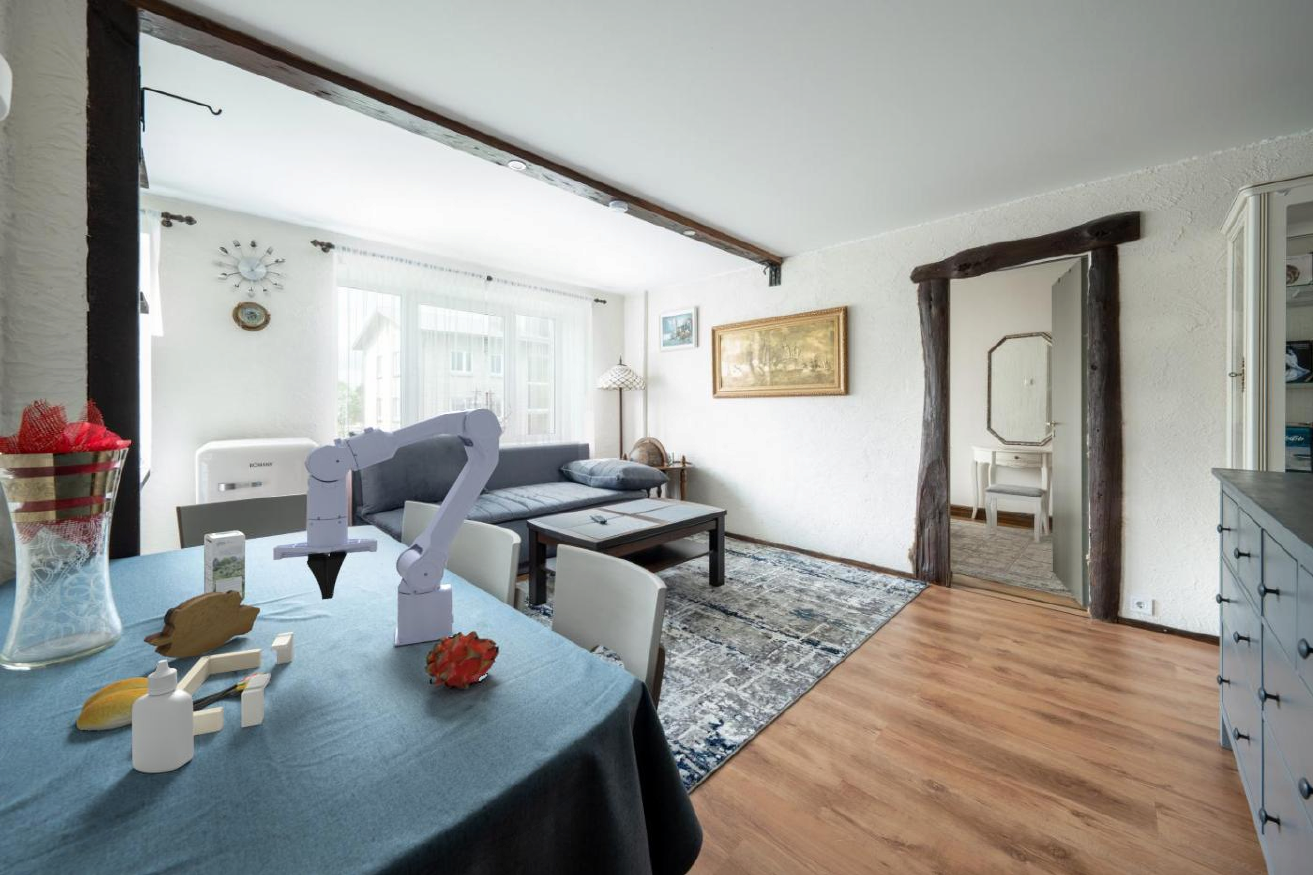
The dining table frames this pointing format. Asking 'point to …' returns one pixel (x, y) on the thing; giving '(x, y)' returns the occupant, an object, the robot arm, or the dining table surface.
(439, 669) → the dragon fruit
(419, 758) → the dining table surface
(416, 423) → the robot arm
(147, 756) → the eye dropper bottle
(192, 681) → the end holder
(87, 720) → the bread roll
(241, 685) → the composite cable
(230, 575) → the syrup box
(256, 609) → the wooden carving
